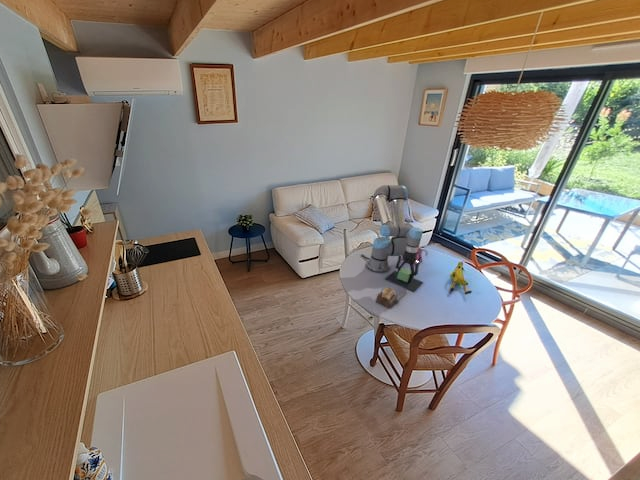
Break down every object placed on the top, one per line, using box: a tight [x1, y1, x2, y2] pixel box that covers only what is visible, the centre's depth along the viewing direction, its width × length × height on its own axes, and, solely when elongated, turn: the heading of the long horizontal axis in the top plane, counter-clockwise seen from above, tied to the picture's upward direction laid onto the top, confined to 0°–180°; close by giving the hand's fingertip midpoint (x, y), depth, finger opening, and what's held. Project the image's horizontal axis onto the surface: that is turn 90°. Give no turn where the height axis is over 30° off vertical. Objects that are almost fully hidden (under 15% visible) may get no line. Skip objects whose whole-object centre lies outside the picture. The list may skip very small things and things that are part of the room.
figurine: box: [449, 261, 472, 295], centre depth 192 cm, size 11×11×30 cm
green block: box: [397, 266, 411, 282], centre depth 194 cm, size 7×7×6 cm
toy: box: [406, 219, 429, 265], centre depth 215 cm, size 9×26×30 cm, turn 34°
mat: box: [384, 270, 423, 292], centre depth 196 cm, size 20×14×1 cm
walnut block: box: [375, 291, 398, 309], centre depth 177 cm, size 9×9×4 cm
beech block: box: [381, 286, 395, 300], centre depth 174 cm, size 5×5×4 cm
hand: (403, 279), depth 196 cm, fingers closed on green block, 7 cm apart
